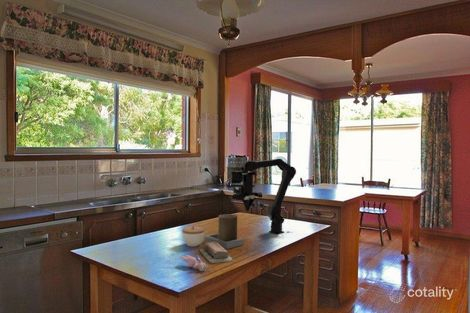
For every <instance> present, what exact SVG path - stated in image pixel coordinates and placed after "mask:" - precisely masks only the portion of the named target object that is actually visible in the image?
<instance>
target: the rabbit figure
mask: <svg viewBox="0 0 470 313" xmlns="http://www.w3.org/2000/svg"><path fill="white" fill-rule="evenodd" d="M180 259H182V260H183V261H184V262H186V264H187V265H188V266H189V267H190V268H192V269H195V268H196V269H198V270H199V272H201V273H203V272H204V273H206V272H207V269H208V271H211V267H210V266H209V265H207V264H206V263H205V262H202V260H201V258H200V256H199V255H198V254H197V255H195V257H194V256H191V255H189V254H188V255H187V254H186V255H184V256H180Z"/></svg>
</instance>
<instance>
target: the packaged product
mask: <svg viewBox="0 0 470 313" xmlns="http://www.w3.org/2000/svg"><path fill="white" fill-rule="evenodd" d="M199 252H200V253H201V254H202V255H203V257H204V258H205V259H206V260H207V261H208V262H209V263H210V264H216V263H217V264H218V263H219V264H220V263H227V262H233V261H234V259H233V258H232V256H230V255H229V254H230V253H229V252H228V250H227V249H224V248H223V247H222V246H221V245H219V244H218V243H217V242H214V241H213V242H204V243H203V248H200V249H199Z"/></svg>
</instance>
